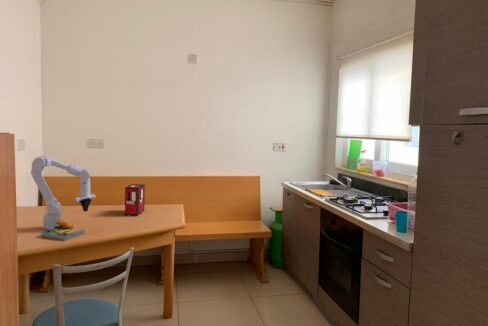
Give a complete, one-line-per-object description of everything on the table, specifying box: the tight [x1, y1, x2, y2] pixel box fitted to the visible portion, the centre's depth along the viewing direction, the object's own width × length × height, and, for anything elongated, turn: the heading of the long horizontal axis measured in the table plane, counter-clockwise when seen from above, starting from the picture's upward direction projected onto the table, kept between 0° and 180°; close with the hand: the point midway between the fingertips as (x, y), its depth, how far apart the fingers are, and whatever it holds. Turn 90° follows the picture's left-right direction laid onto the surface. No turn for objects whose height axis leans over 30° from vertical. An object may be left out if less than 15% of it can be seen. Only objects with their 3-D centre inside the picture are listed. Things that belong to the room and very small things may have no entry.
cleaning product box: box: [124, 183, 146, 217], centre depth 269 cm, size 16×9×20 cm, turn 179°
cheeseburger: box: [52, 219, 74, 235], centre depth 212 cm, size 10×11×10 cm
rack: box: [40, 229, 86, 241], centre depth 212 cm, size 17×14×3 cm
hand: (85, 211), depth 229 cm, fingers closed
